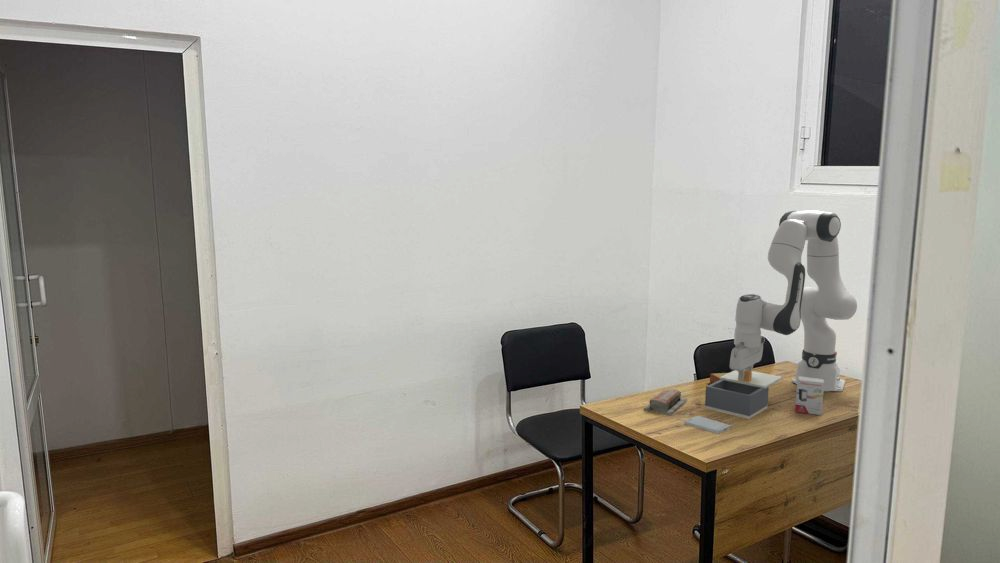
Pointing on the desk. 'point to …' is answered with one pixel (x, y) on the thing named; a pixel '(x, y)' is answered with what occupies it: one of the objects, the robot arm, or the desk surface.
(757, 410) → the charcoal box
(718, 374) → the carton
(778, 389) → the desk surface
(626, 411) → the desk surface
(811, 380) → the ink box
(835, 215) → the robot arm
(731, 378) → the lid flap
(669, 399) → the packaged product
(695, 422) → the hard drive
